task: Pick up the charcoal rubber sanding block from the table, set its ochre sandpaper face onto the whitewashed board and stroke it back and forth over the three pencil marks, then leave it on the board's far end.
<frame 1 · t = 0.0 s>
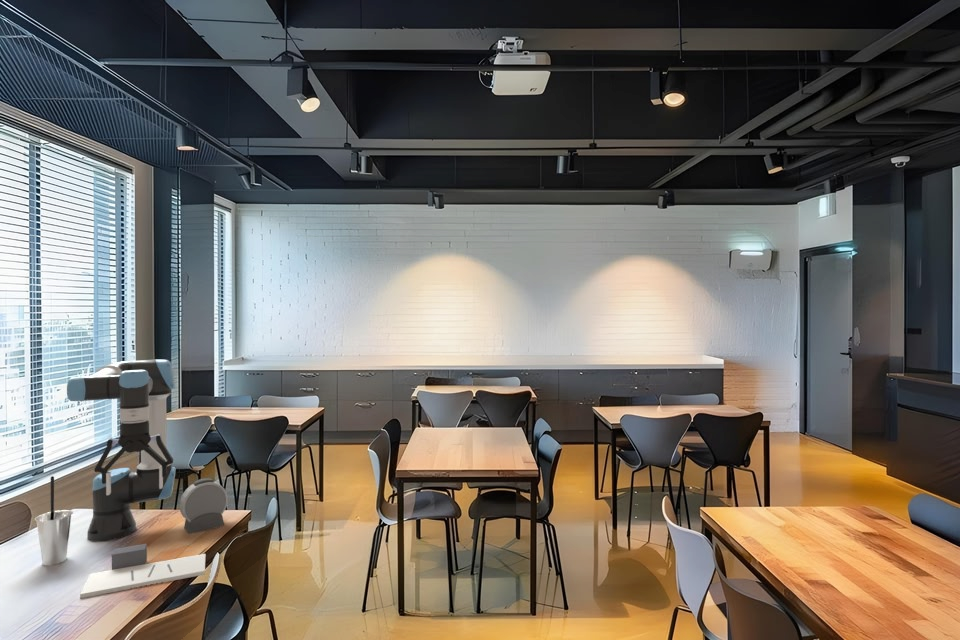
hand: (135, 490, 165), 28 cm above the table, fingers open, 13 cm apart
metal cup with straw: (54, 562, 180), on the table
alarm clock: (204, 526, 210), on the table
sanding block: (129, 567, 176), on the table
board: (147, 576, 169), on the table
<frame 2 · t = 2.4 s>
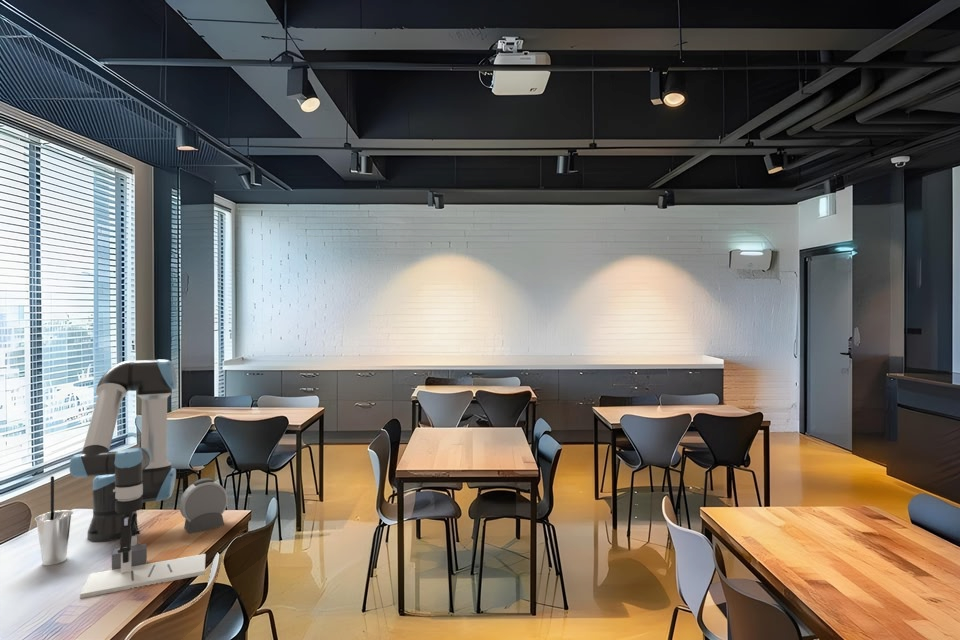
hand: (129, 563, 175), 1 cm above the table, fingers open, 13 cm apart
nothing on the table moved.
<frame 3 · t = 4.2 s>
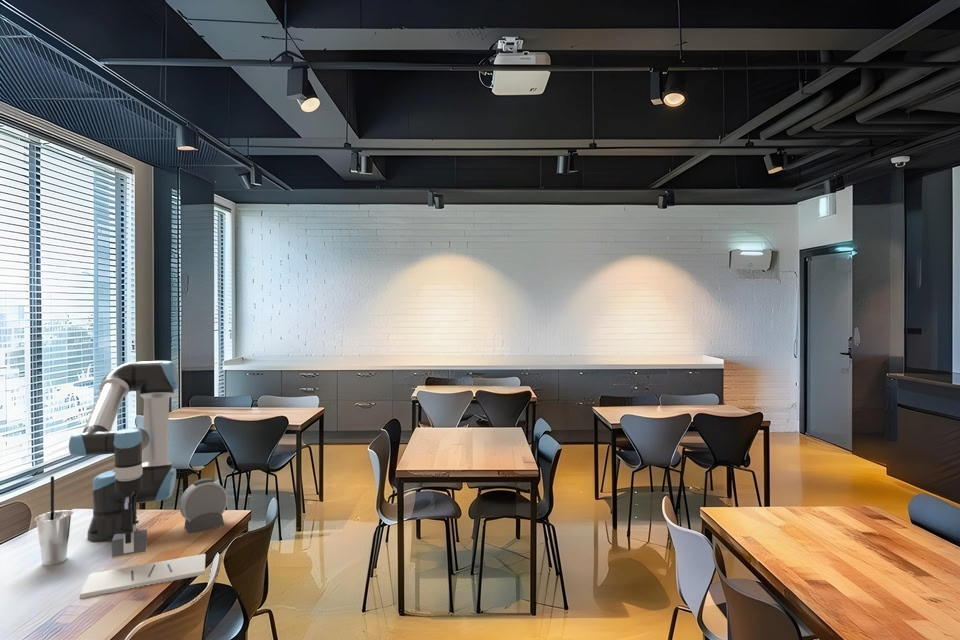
hand: (130, 548, 176), 6 cm above the table, fingers closed on sanding block, 5 cm apart
sanding block: (130, 553, 176), point 4 cm above the table, touching gripper
everything else where it was.
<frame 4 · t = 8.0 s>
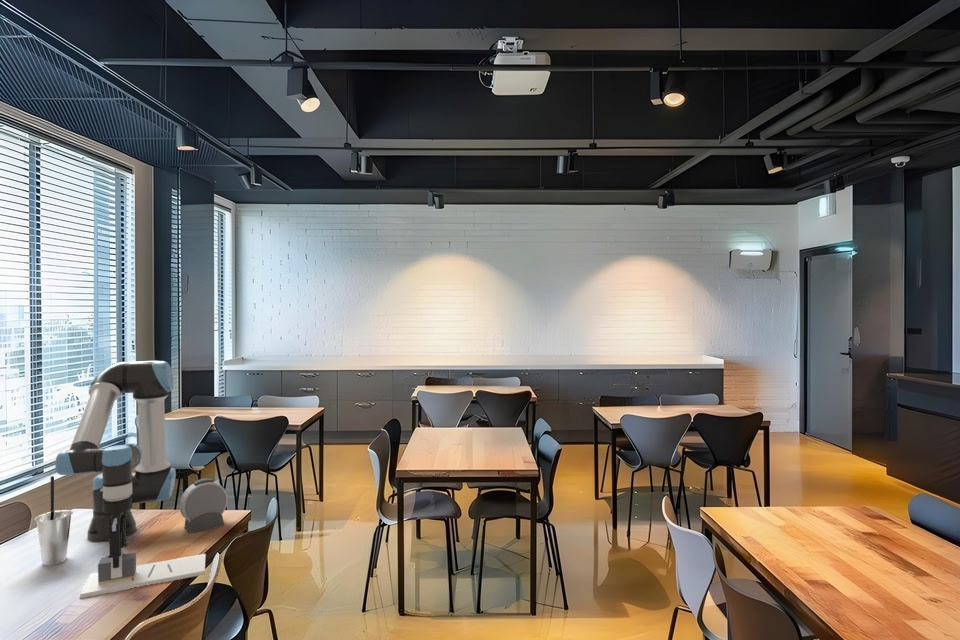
hand: (118, 573, 166), 3 cm above the table, fingers closed on sanding block, 5 cm apart
sanding block: (117, 577, 166), point 1 cm above the table, touching gripper
everything else where it was.
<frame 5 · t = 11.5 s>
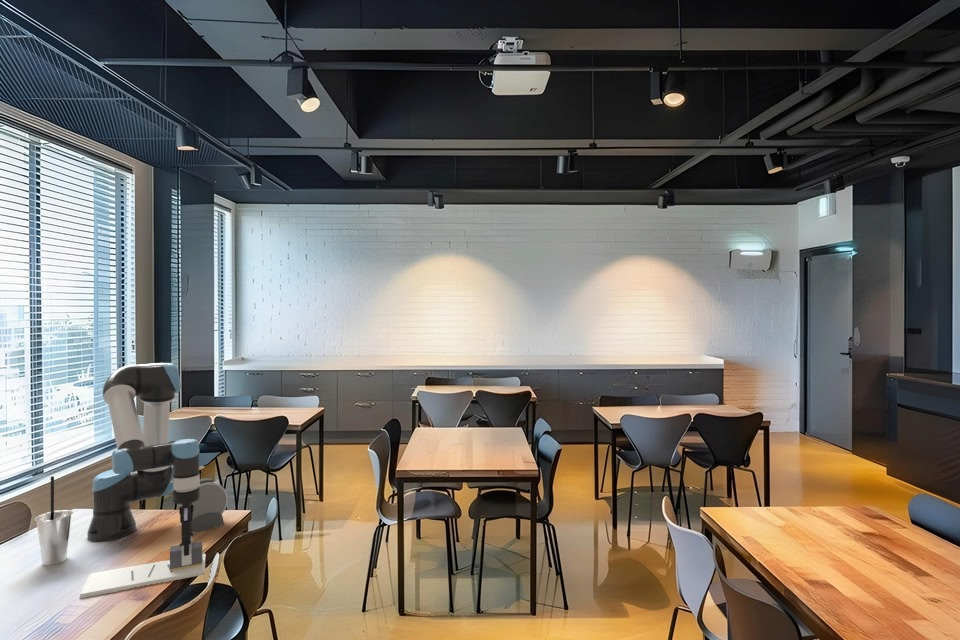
hand: (187, 560, 174), 3 cm above the table, fingers closed on sanding block, 5 cm apart
sanding block: (186, 565, 174), point 1 cm above the table, touching gripper
everything else where it was.
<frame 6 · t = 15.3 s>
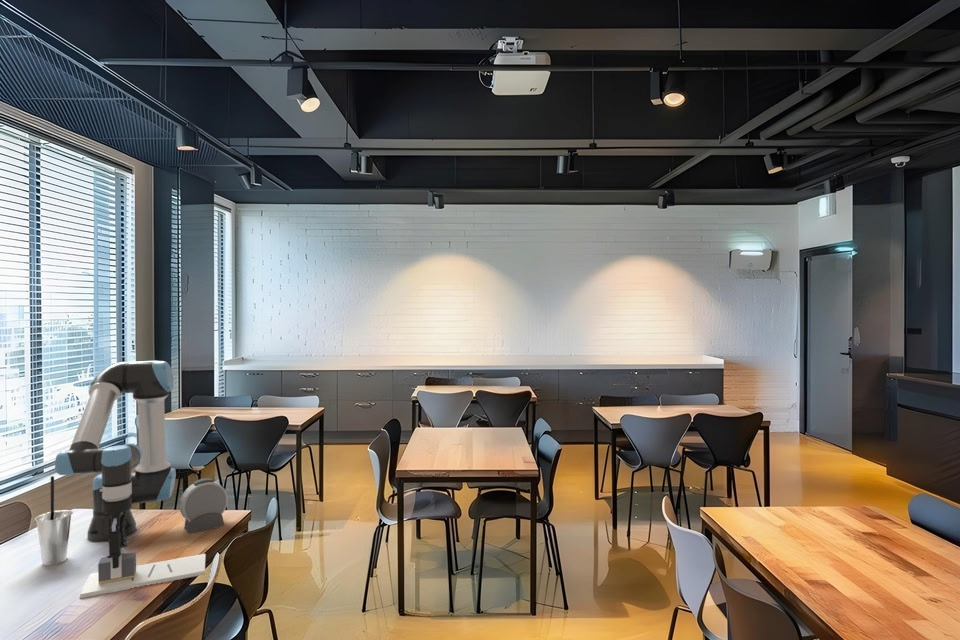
hand: (117, 573, 166), 3 cm above the table, fingers closed on sanding block, 5 cm apart
sanding block: (117, 577, 166), point 1 cm above the table, touching gripper
everything else where it was.
when the fingers open (2 cm above the table, at t = 18.8 s): sanding block stays where it is, resting on board.
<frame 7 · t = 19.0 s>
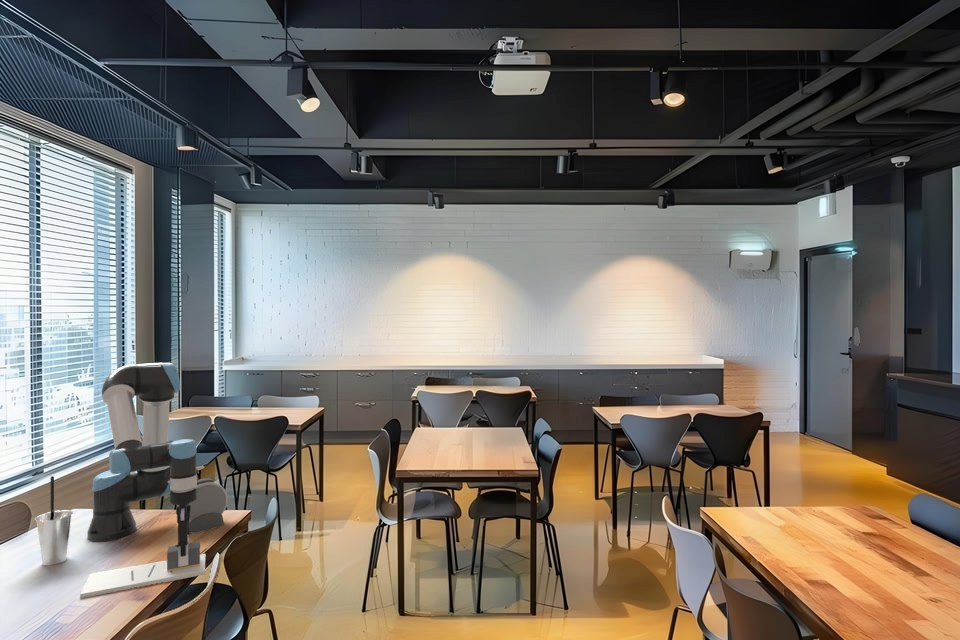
hand: (184, 560, 174), 3 cm above the table, fingers open, 7 cm apart
sanding block: (184, 565, 174), point 1 cm above the table, touching board
everything else where it was.
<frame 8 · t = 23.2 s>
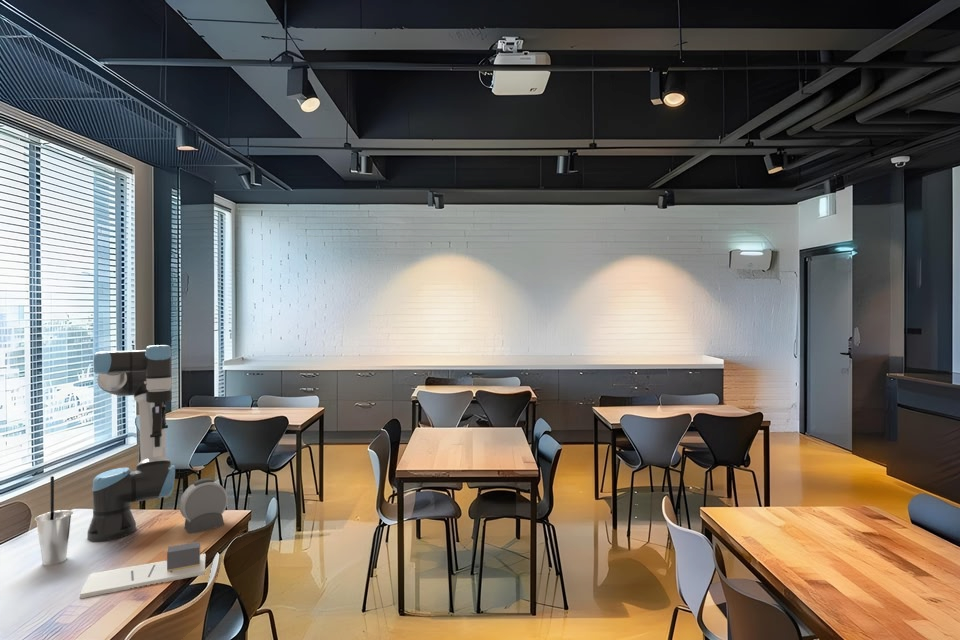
hand: (159, 451, 186), 35 cm above the table, fingers open, 13 cm apart
nothing on the table moved.
at the end: sanding block inside the target area on the board (10.0 cm from its centre), point 1.2 cm above the board's base; sanding block moved 18.8 cm from its start; the gripper is holding nothing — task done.
